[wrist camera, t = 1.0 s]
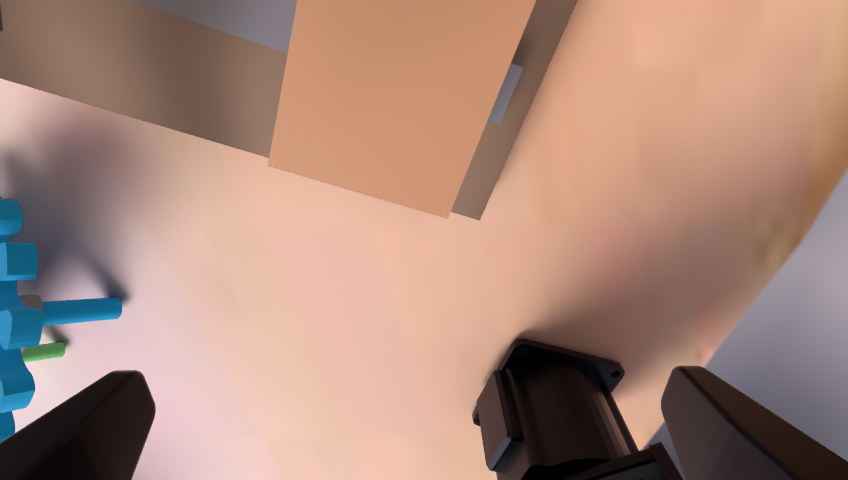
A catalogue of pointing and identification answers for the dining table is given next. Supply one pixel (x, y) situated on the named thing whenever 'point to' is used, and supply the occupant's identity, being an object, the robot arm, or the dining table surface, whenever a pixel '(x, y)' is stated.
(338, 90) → the sliding jaw
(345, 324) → the dining table surface
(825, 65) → the dining table surface
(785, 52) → the dining table surface
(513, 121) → the base
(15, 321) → the gear
